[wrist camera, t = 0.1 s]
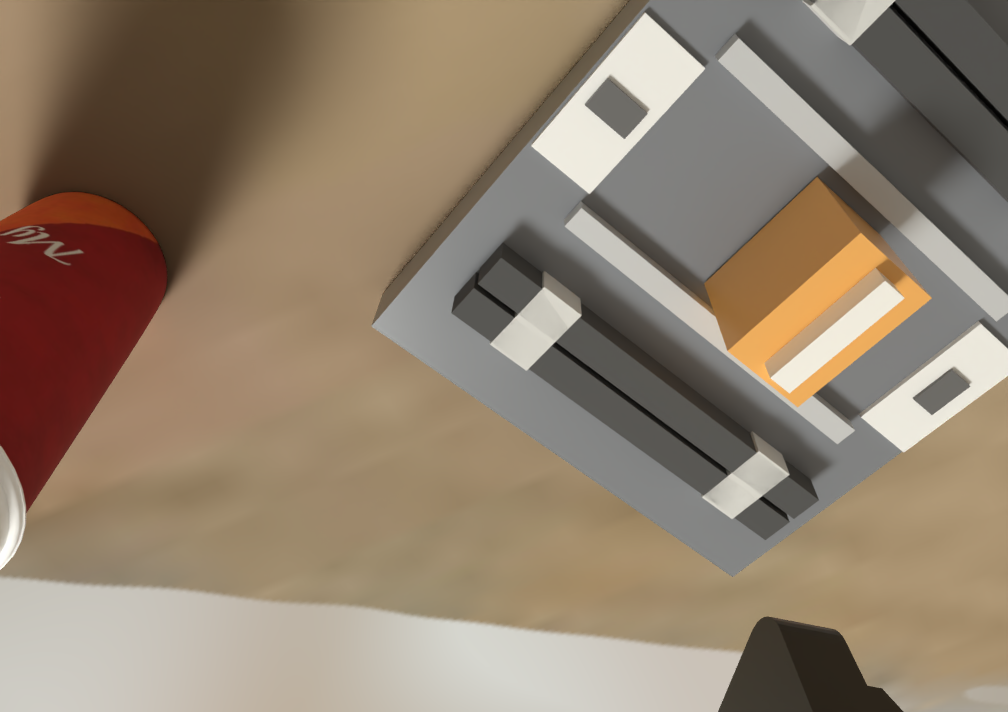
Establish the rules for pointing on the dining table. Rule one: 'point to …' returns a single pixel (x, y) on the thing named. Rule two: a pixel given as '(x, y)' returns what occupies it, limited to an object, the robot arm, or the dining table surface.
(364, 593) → the dining table surface
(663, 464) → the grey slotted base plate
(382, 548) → the dining table surface
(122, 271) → the paper cup
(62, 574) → the dining table surface
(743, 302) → the block
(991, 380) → the breaker panel
